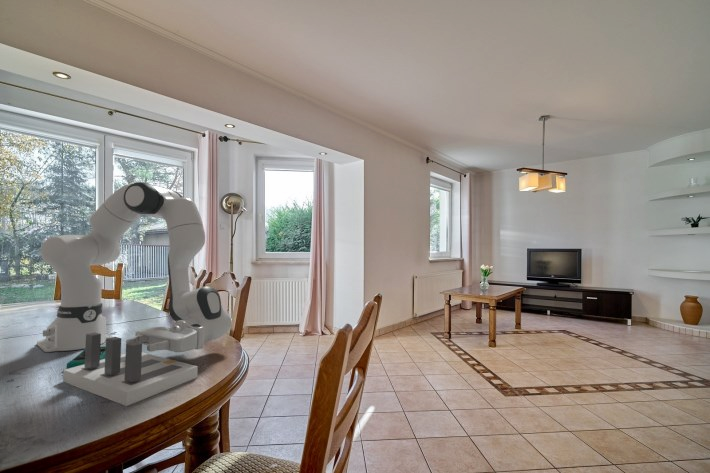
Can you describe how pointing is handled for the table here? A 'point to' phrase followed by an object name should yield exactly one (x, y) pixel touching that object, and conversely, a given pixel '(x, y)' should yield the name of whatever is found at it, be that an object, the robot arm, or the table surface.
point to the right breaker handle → (133, 361)
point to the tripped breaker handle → (112, 355)
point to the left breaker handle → (92, 350)
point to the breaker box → (114, 387)
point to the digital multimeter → (81, 358)
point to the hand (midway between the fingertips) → (137, 345)
